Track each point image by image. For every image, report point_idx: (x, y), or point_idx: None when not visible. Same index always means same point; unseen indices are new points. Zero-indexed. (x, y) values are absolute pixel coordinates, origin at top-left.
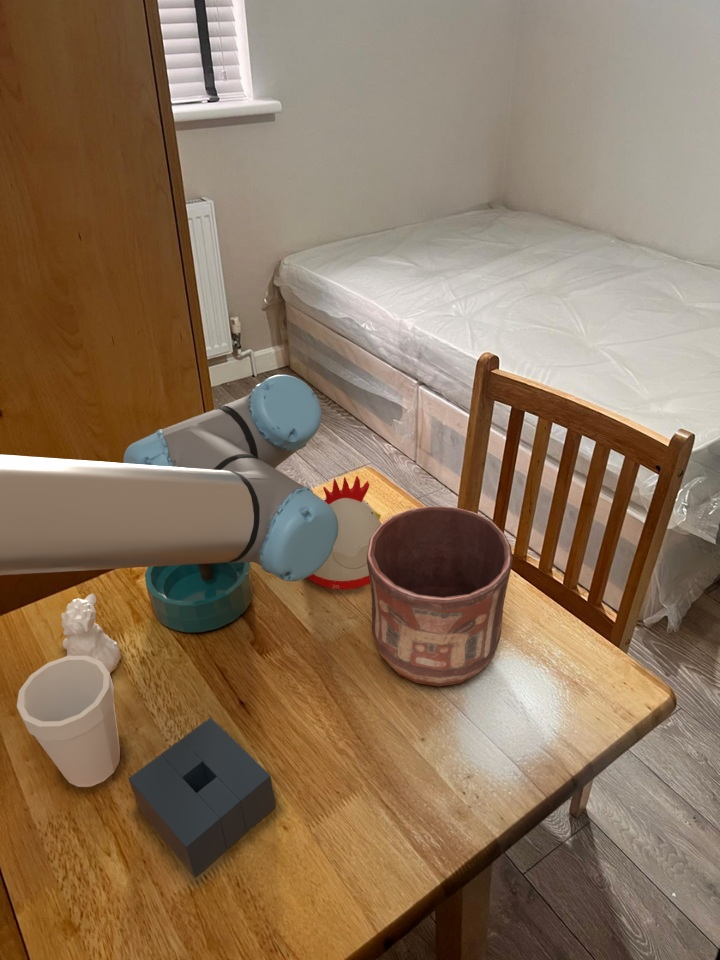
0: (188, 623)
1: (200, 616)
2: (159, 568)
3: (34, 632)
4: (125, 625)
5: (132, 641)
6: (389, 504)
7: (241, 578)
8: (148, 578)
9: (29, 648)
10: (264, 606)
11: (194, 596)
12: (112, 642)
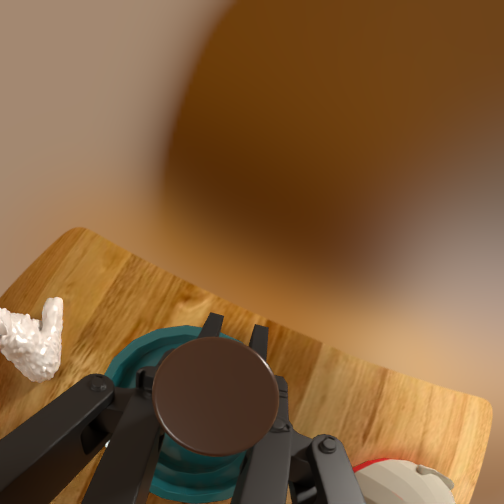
0: None
1: None
2: (174, 341)
3: (68, 254)
4: (104, 344)
5: (87, 370)
6: (470, 466)
7: (207, 498)
8: (126, 352)
9: (49, 266)
10: (229, 498)
11: None
12: (40, 366)
